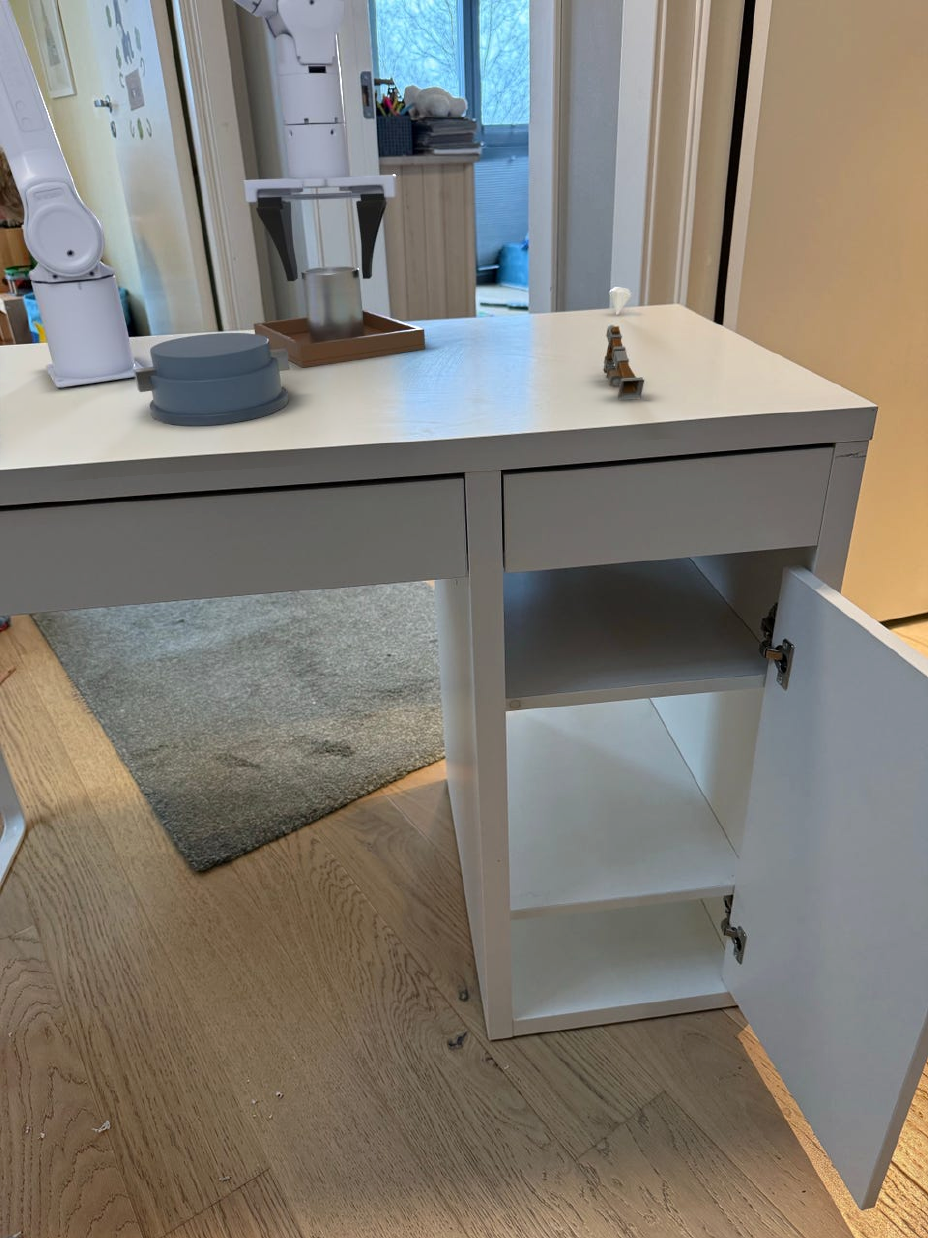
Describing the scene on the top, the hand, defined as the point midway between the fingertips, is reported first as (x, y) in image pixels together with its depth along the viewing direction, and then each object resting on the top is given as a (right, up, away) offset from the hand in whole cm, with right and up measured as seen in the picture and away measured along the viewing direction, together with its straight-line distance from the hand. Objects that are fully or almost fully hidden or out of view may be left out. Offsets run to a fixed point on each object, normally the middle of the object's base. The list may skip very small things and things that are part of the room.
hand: (330, 278), depth 87 cm
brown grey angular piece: (+26, -16, -17) cm, 35 cm away
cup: (0, -5, +3) cm, 6 cm away
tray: (0, -6, +3) cm, 7 cm away
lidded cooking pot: (-6, -17, -17) cm, 25 cm away
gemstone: (+31, +1, +13) cm, 34 cm away
